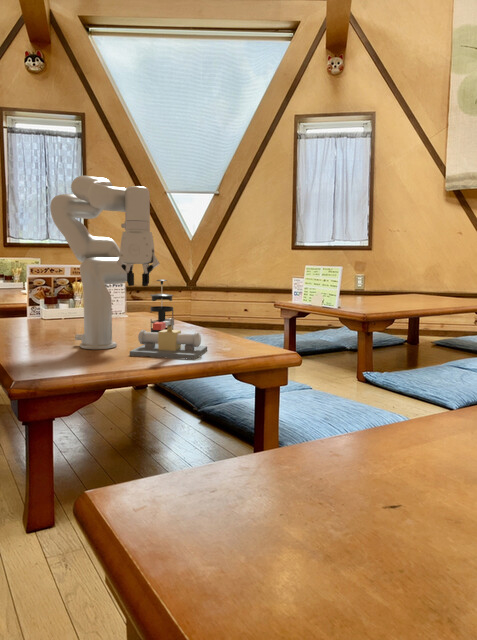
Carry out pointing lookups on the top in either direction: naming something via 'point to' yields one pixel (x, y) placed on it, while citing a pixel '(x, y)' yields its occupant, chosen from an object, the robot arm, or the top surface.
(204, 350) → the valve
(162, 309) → the french press
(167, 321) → the lever
